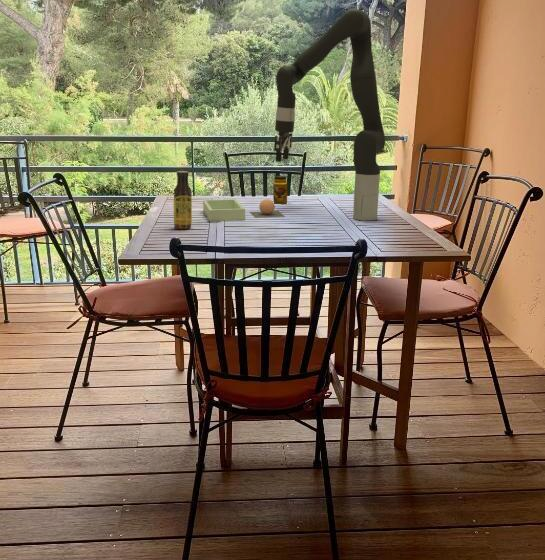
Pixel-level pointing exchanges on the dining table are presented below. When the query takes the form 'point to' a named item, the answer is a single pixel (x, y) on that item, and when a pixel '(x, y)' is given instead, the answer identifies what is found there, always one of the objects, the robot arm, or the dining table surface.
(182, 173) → the sauce bottle
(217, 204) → the tray
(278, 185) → the condiment
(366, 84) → the robot arm
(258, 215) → the mat
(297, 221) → the dining table surface
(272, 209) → the ball
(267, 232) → the dining table surface
